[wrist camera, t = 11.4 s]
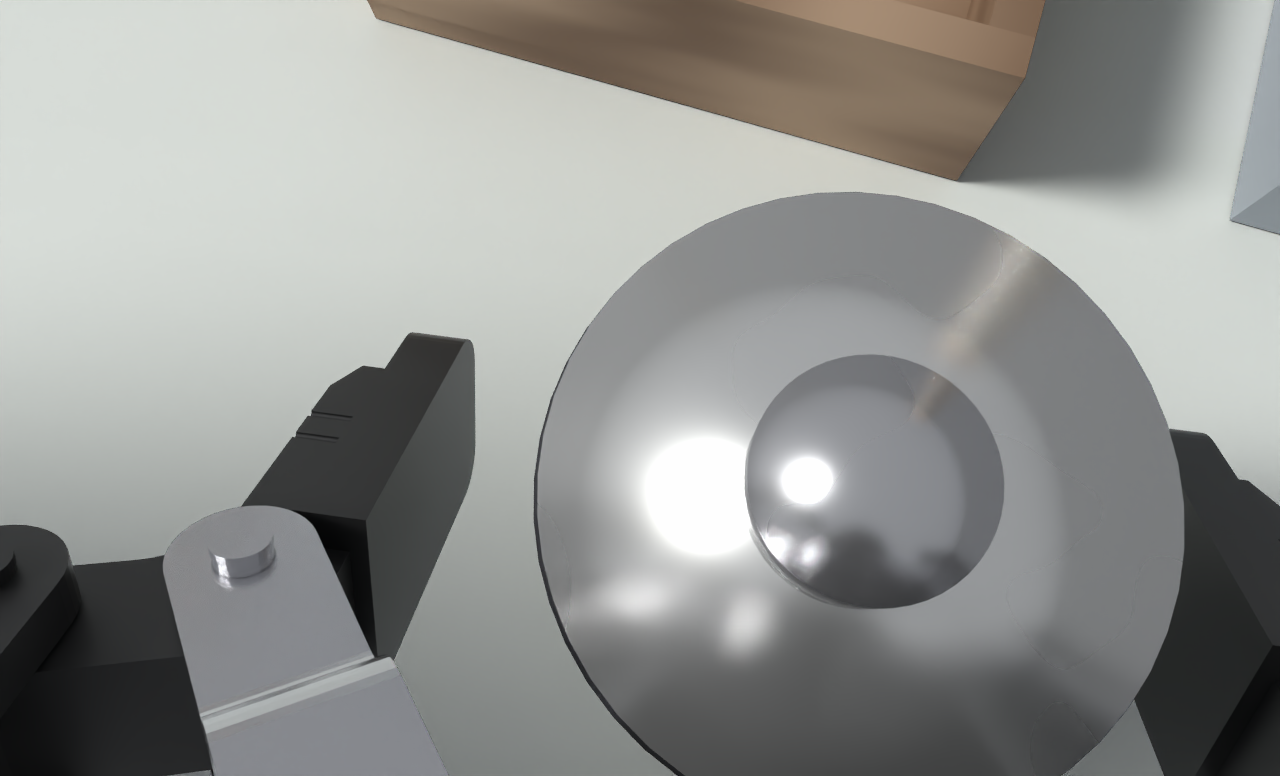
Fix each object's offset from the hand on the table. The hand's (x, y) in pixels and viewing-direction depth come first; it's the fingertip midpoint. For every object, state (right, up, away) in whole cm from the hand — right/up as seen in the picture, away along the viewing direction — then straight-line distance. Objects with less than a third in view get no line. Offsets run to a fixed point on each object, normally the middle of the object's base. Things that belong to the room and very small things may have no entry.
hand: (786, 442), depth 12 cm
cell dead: (0, -2, +4) cm, 5 cm away
